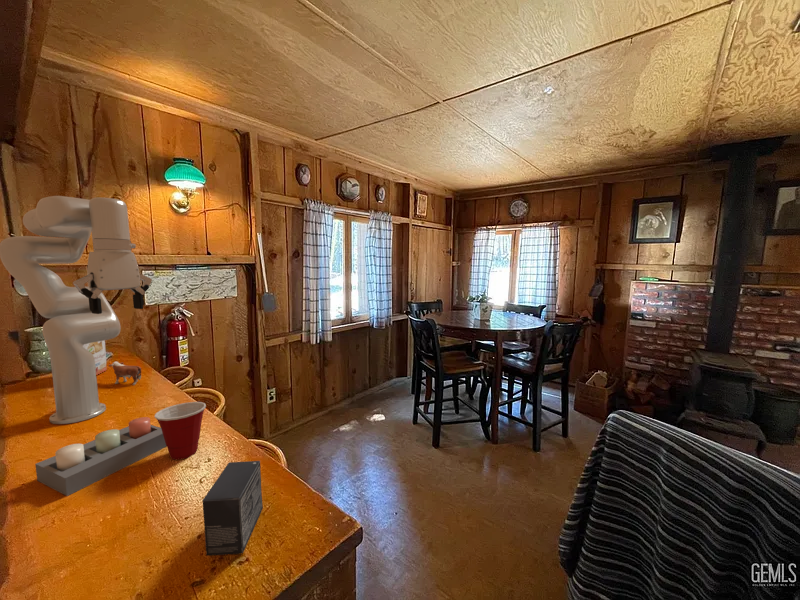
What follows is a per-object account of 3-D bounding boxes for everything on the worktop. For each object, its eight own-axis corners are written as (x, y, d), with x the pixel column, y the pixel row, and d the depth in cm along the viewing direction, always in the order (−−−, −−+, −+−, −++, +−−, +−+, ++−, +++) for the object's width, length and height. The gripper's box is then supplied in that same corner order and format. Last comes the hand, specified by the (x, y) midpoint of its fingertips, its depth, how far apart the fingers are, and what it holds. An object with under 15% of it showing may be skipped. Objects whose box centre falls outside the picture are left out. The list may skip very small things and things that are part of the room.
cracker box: (85, 382, 129) (80, 330, 127) (67, 383, 128) (61, 330, 125) (108, 370, 143) (104, 323, 140) (92, 371, 141) (87, 323, 139)
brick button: (126, 440, 85) (124, 423, 85) (144, 432, 89) (143, 415, 89) (136, 444, 84) (135, 426, 83) (155, 436, 88) (153, 419, 87)
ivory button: (53, 472, 72) (51, 451, 72) (78, 461, 76) (76, 441, 76) (64, 477, 71) (61, 456, 70) (89, 466, 75) (87, 446, 74)
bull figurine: (117, 379, 133) (116, 359, 132) (145, 382, 130) (144, 362, 129) (106, 383, 129) (104, 363, 128) (134, 386, 126) (133, 365, 125)
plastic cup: (202, 436, 92) (199, 395, 90) (213, 453, 84) (211, 408, 83) (154, 452, 84) (150, 407, 83) (162, 472, 77) (158, 423, 75)
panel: (37, 480, 73) (35, 463, 72) (141, 434, 92) (140, 421, 92) (67, 496, 68) (65, 478, 68) (170, 444, 88) (169, 430, 87)
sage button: (92, 455, 79) (90, 436, 78) (114, 445, 83) (112, 427, 82) (103, 459, 77) (101, 440, 77) (125, 449, 81) (123, 431, 81)
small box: (230, 509, 66) (227, 460, 64) (263, 508, 66) (262, 459, 65) (203, 556, 55) (199, 499, 54) (243, 554, 56) (241, 497, 55)
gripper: (139, 248, 96) (144, 306, 98) (61, 245, 80) (69, 314, 82) (156, 248, 93) (161, 307, 95) (78, 244, 77) (86, 316, 79)
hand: (118, 310), depth 89 cm, fingers open, 9 cm apart
